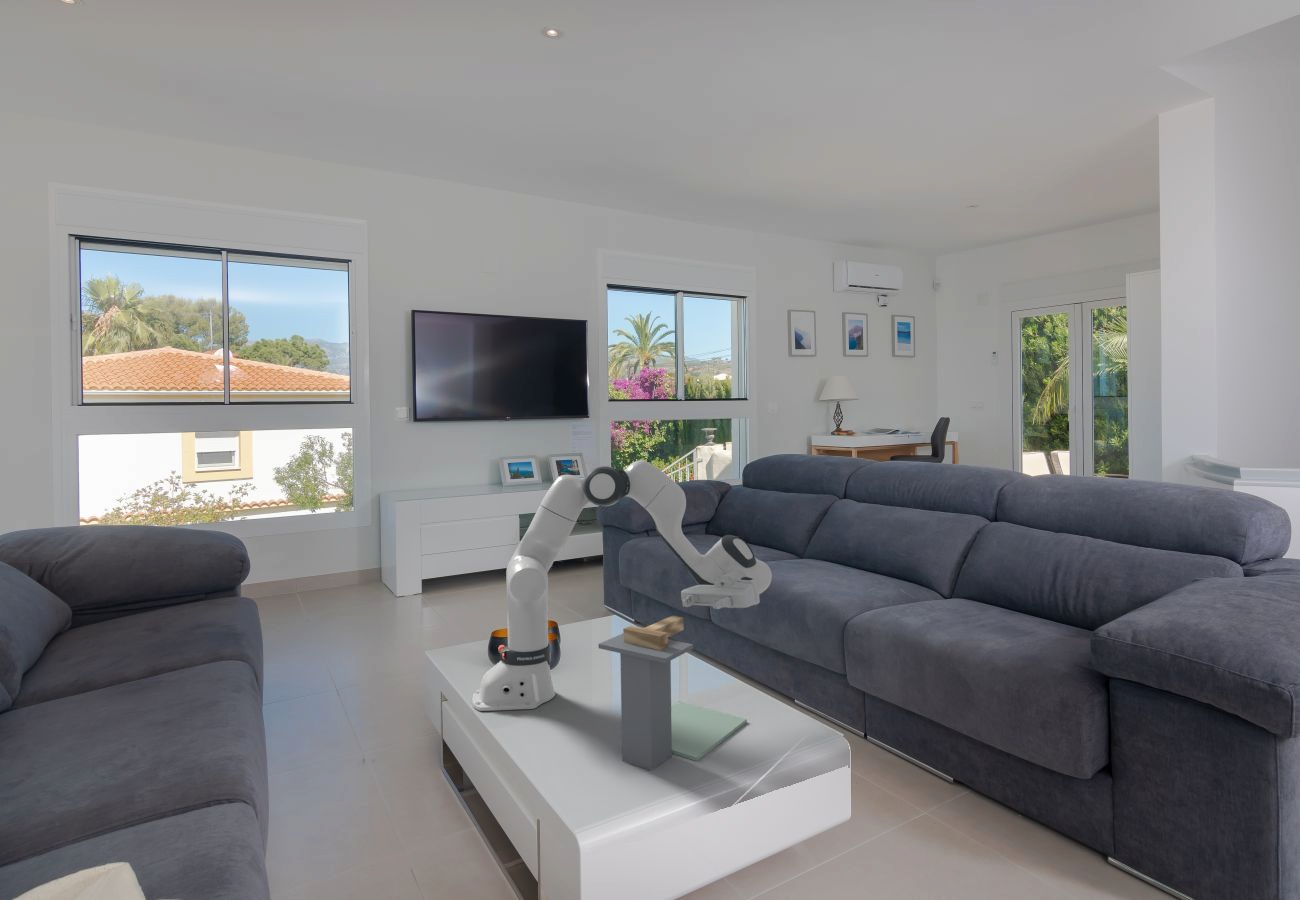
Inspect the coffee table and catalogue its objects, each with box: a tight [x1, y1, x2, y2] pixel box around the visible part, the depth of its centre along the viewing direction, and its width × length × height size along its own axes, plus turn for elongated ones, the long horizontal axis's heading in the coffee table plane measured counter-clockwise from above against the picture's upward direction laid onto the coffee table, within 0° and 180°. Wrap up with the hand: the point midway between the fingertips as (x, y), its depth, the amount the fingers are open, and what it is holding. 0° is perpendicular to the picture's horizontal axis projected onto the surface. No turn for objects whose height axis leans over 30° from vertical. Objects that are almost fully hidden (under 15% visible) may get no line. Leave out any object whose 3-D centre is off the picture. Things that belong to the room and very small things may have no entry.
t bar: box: [622, 615, 685, 650], centre depth 162 cm, size 15×10×3 cm, turn 145°
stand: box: [598, 633, 694, 771], centre depth 158 cm, size 11×18×26 cm, turn 55°
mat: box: [671, 701, 748, 762], centre depth 172 cm, size 24×20×1 cm
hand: (699, 604), depth 175 cm, fingers open, 8 cm apart
